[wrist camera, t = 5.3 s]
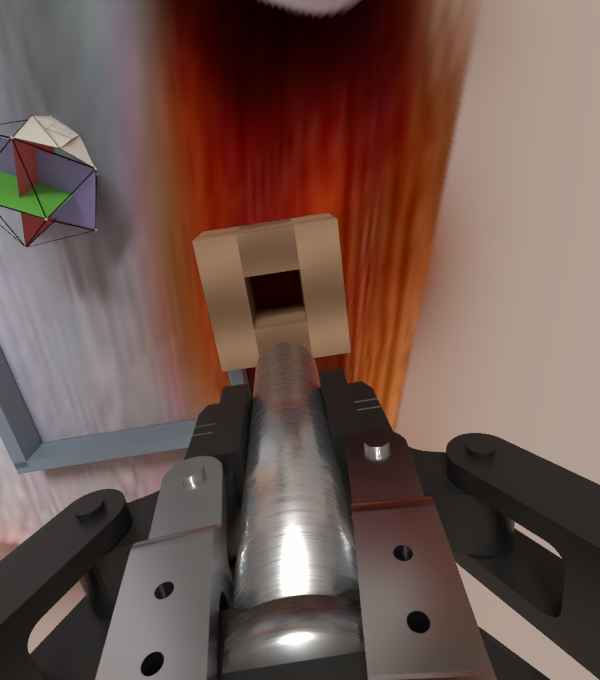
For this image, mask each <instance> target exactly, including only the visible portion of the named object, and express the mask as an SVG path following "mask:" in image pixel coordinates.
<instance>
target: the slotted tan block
mask: <svg viewBox="0 0 600 680" xmlns="http://www.w3.org/2000/svg"><path fill="white" fill-rule="evenodd" d="M192 243H193V247H194V252H195V256H196V260H197V265H198V269H199V273H200V278H201V282H202V286H203V291H204V295H205V299H206V304H207V308H208V312H209V317H210V321H211V325H212V330H213V334H214V338H215V343H216V347H217V351H218V356H219V360H220V364H221V369H222V372H226V371H232V370H239V369H245V368H252V367H256V364H257V361H258V359H259V357H260V355H261V354H262V353H263V352H264V351H265V350H266V349H267V348H269V347H270V346H272V345H274V344H277V343H281V342H292V343H296V344H299V345H301V346H303V347H305V348H306V349H307V350H308V351H309V352H310V353H311V354H312V355H313V357H314V358H317V357H324V356H330V355H337V354H344V353H350V352H351V348H350V339H349V329H348V319H347V309H346V299H345V289H344V280H343V270H342V260H341V250H340V240H339V230H338V221H337V219H336V218H335V217H333V216H332V215H331V214H329V213H324V214H317V215H310V216H304V217H297V218H291V219H284V220H277V221H271V222H264V223H257V224H251V225H244V226H237V227H231V228H224V229H217V230H211V231H204V232H202V233H201V234H200V235H199V236H198V237H196V238H195V239H194V240H193V241H192ZM297 269H298V273H299V280H300V287H301V294H302V302H303V303H297V304H290V305H284V306H277V307H270V308H264V309H257V310H256V306H255V300H254V295H253V290H252V284H251V279H250V277H251V276H257V275H264V274H271V273H277V272H284V271H290V270H297Z"/></svg>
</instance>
